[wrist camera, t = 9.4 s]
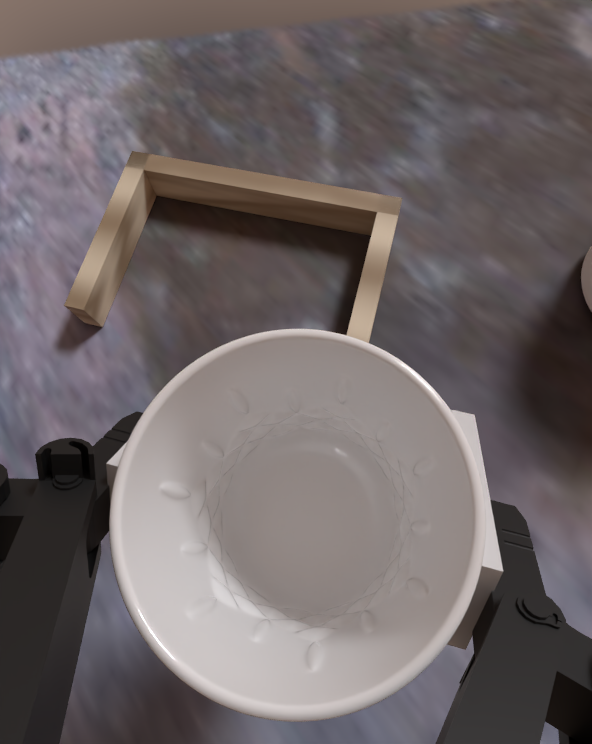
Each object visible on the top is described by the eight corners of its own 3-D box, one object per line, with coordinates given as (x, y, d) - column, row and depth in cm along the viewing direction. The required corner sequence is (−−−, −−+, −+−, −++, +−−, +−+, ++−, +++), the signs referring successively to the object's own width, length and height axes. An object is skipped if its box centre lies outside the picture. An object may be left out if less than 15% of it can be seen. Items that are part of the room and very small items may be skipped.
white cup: (343, 673, 18) (357, 828, 8) (176, 547, 20) (31, 557, 10) (446, 488, 20) (553, 444, 10) (284, 387, 21) (247, 272, 12)
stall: (358, 386, 34) (361, 372, 31) (84, 322, 37) (64, 305, 34) (396, 223, 38) (402, 198, 35) (146, 177, 41) (132, 150, 38)
